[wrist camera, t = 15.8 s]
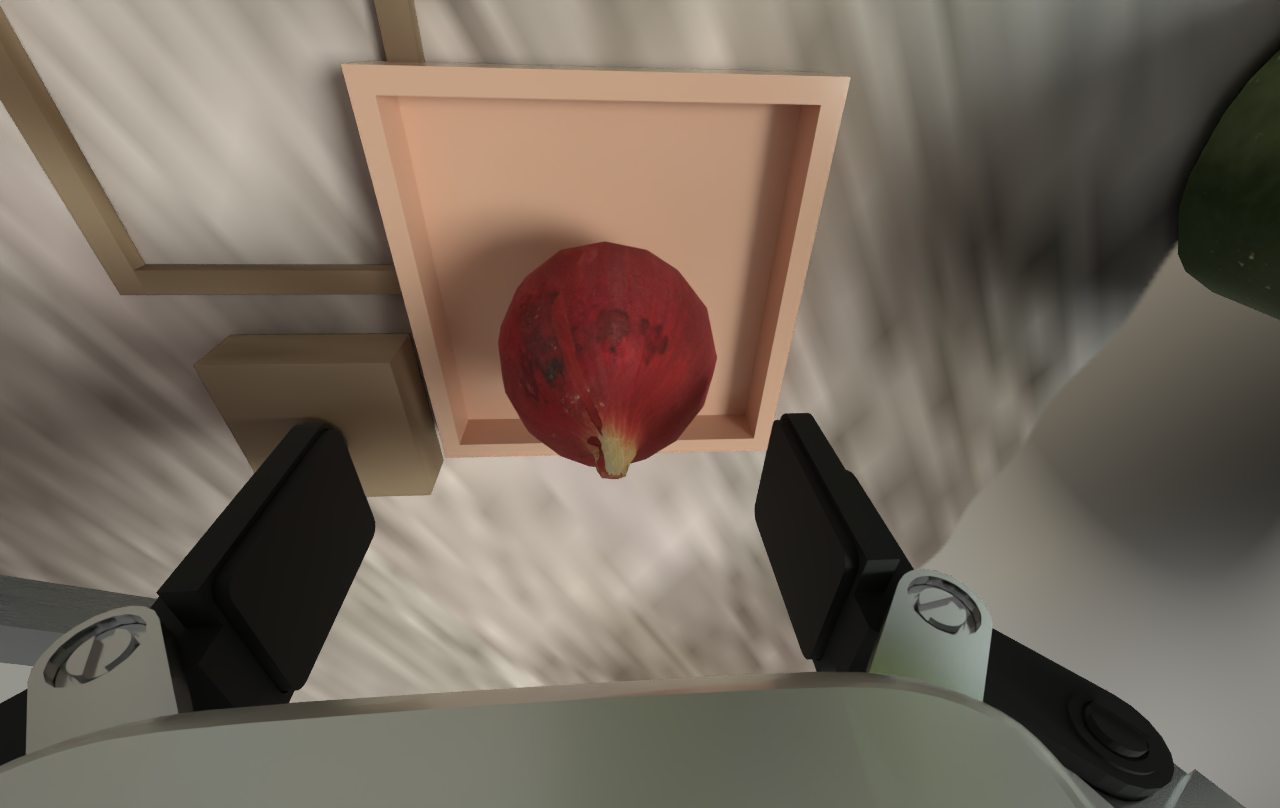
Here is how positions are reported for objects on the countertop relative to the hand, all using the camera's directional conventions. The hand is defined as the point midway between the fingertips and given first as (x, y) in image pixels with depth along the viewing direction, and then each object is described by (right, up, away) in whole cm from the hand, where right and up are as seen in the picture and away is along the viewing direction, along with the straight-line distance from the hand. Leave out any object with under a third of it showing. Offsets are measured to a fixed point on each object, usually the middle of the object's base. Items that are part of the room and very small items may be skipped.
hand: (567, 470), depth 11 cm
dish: (+1, +6, +6) cm, 8 cm away
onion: (+1, +5, +6) cm, 8 cm away
